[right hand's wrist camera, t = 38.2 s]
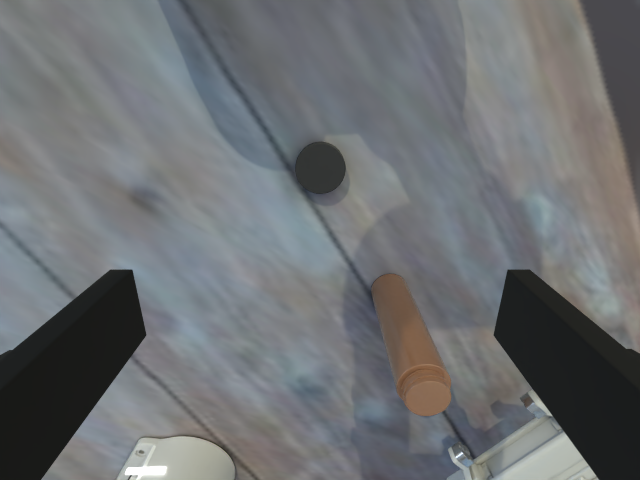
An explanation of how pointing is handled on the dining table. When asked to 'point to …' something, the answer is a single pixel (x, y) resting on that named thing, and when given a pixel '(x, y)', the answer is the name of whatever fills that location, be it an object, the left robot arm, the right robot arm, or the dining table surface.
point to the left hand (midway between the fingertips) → (490, 425)
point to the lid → (320, 167)
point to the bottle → (410, 348)
